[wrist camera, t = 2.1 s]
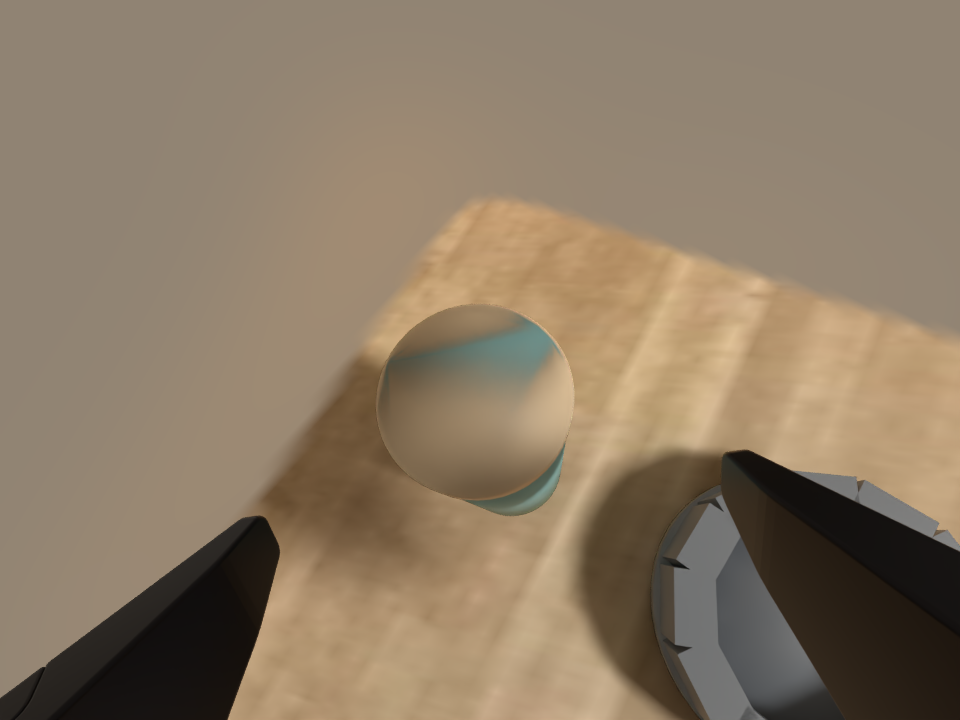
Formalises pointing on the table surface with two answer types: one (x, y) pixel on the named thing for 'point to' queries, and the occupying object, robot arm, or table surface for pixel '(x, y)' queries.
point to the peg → (478, 407)
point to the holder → (743, 613)
